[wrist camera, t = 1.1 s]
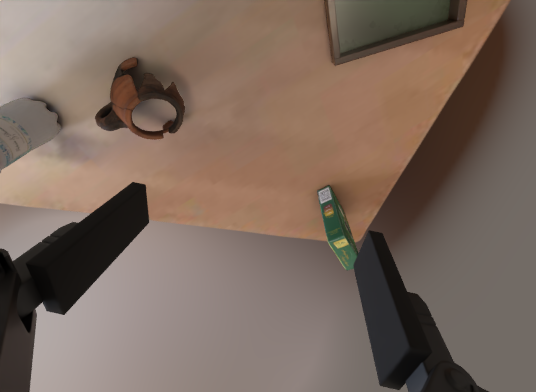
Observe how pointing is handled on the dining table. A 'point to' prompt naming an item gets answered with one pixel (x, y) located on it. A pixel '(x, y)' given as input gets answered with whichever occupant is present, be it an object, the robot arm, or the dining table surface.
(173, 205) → the dining table surface
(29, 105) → the bottle
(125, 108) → the broken clay pot
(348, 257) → the coffee box
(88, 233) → the robot arm
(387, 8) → the tray
